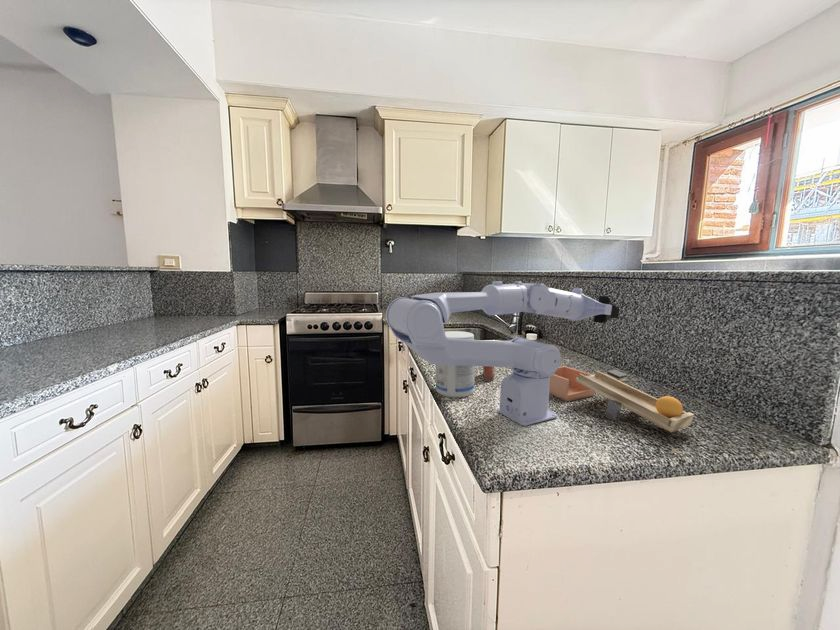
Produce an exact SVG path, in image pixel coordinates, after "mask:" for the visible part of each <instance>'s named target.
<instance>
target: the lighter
mask: <svg viewBox="0 0 840 630" xmlns="http://www.w3.org/2000/svg"><path fill="white" fill-rule="evenodd" d="M482 369H483V371H482V377H483V378H482V380H483V379H484V380H485V381H484V380H483V381H484V382H486V381H492V382H494V381H493V380H495V367H491V366H482Z"/></svg>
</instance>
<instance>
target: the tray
mask: <svg viewBox="0 0 840 630" xmlns="http://www.w3.org/2000/svg"><path fill="white" fill-rule="evenodd" d="M579 374H583V375H585V376H589V375H594V374H592V373H589V372H585V371H582V370H579V369H576V368H572V367H568V366H565V365H562V366H559V367H558V369H557V371H556V372H555V373H554V374H553V376H551V377H550V386H549V395H551V396H553V397H557V398H558V399H561V400H564V401H566V402H571V401H572V402H573V401H576V400H580V399H581V400H582V399H586V398H588V397H593V396H595V394H596V392H595V391H593V390H591V389H590V388H588V387H586V386H584V385H582V384H580V383H578V382H576V378H578V376H579Z"/></svg>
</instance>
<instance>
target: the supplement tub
mask: <svg viewBox="0 0 840 630" xmlns="http://www.w3.org/2000/svg"><path fill="white" fill-rule="evenodd" d="M445 336H446V338H458V339H472V340H475V335H474V334H473V333H472V332H470V331H469V332H468V331H463V330H462V331H461V330H460V331H459V330H454V331H453V330H451V331H450V330H448V331H445ZM435 390H436V392H437V393H438V394H440V395H441V396H444V397H448V398H455V399H456V398H465V397H468V396H470V395H472V394H473V393H474V391H475V366H458V365H435Z"/></svg>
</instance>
